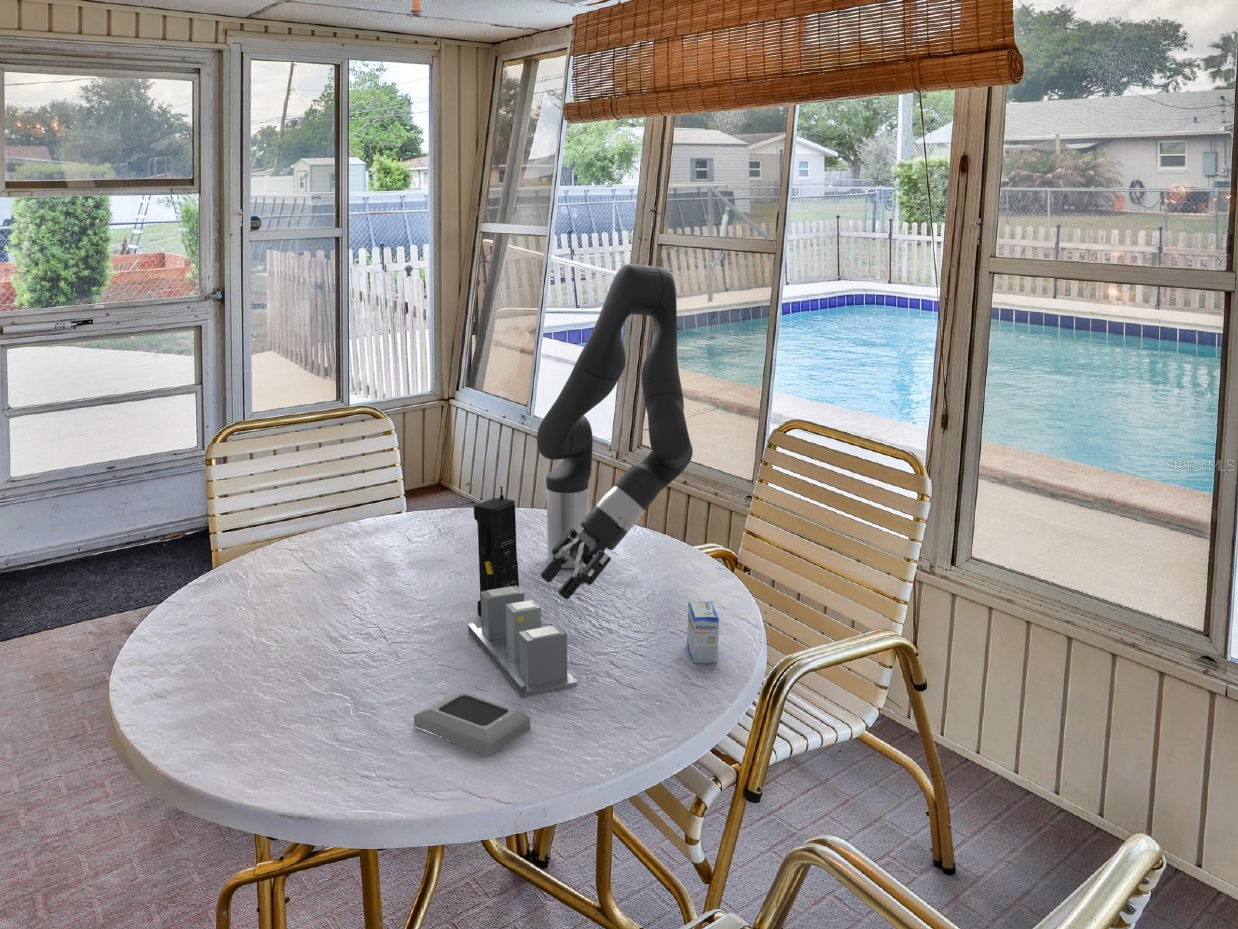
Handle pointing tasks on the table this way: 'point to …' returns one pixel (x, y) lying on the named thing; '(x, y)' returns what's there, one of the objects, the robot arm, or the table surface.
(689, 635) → the medicine box
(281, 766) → the table surface
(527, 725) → the grey flat block
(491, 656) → the rail
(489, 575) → the portable radio
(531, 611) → the block
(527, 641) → the mounted modules
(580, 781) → the table surface
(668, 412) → the robot arm
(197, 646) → the table surface
